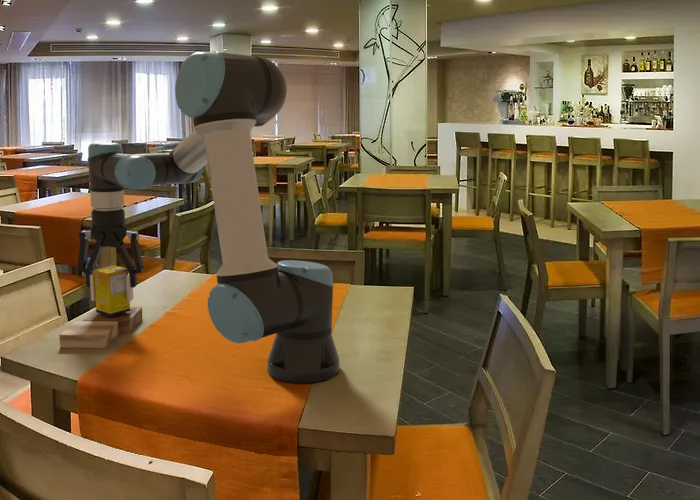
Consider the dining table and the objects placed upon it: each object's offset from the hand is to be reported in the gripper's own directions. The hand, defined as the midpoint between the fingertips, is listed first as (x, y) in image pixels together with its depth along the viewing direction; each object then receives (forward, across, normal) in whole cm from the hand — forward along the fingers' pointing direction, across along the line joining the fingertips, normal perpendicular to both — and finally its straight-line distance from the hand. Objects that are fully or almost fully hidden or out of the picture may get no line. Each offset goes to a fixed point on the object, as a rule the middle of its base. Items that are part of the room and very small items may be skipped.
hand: (112, 299), depth 165 cm
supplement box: (+3, 0, 0) cm, 3 cm away
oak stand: (+7, +2, +11) cm, 13 cm away
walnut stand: (+7, 0, 0) cm, 7 cm away
